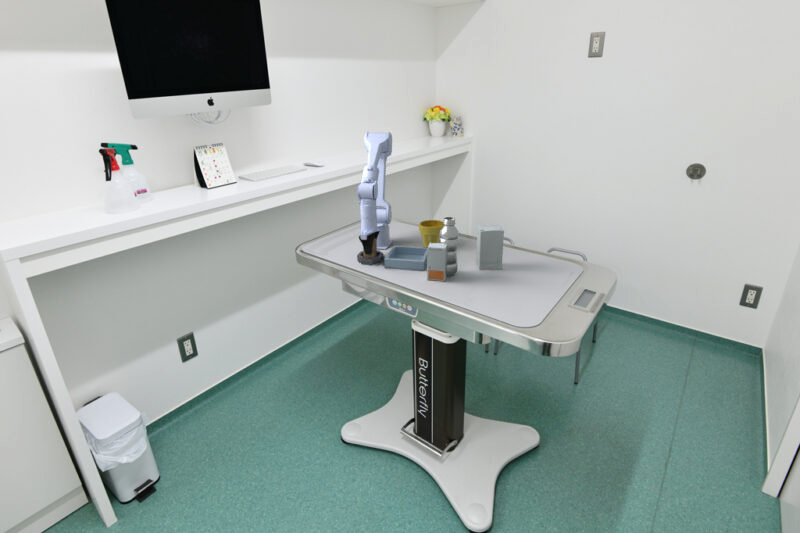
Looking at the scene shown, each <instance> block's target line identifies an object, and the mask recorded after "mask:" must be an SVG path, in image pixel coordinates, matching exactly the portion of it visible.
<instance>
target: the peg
mask: <svg viewBox="0 0 800 533" xmlns="http://www.w3.org/2000/svg"><path fill="white" fill-rule="evenodd" d="M377 250H378V249H377V239H374V241H373V245H372V253H371V255H367V254H365V251H364V248H363V247H362V251H363V254H364V257H365V258H373V257H377Z"/></svg>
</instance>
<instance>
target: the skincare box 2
mask: <svg viewBox="0 0 800 533" xmlns="http://www.w3.org/2000/svg"><path fill="white" fill-rule="evenodd" d="M504 233H505V230H504V228H503V227H502V226H501V225H500V224H492V225H491V224H490V225H477V233H476V234H477V235H476V236H477V237H476V265H477V267H478V268H477V269H478V270H479V271H485V270H486V271H487V270H488V271H489V270H502V269H503V255H504V254H503V251H504Z"/></svg>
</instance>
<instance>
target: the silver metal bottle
mask: <svg viewBox="0 0 800 533" xmlns="http://www.w3.org/2000/svg"><path fill="white" fill-rule="evenodd" d="M443 224H444V226H443V228H442V229H441V230H440V233H439V237H440V243H441V244H445V245H447V262H446V277H452V276H455V275H456V274H457V273H458V272H457V271H458V262H457V261H458V259H457V252H458V251H457V249H458V243H459V239H460V233H459V230H458V228H457V227H456V218H455V217H452V216H446V217H444V218H443Z"/></svg>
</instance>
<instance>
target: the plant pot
mask: <svg viewBox="0 0 800 533" xmlns="http://www.w3.org/2000/svg"><path fill="white" fill-rule="evenodd" d="M443 222H444V220H439V219H427V220H422V221H421V222H419V224H418V228H419V229H418V230H419V233H420V234H421V238H422V245H423V248H428V246H429V244H430V243H440V237H439V233H440V230H441V229H442V228H443V226H444V224H443Z"/></svg>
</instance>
